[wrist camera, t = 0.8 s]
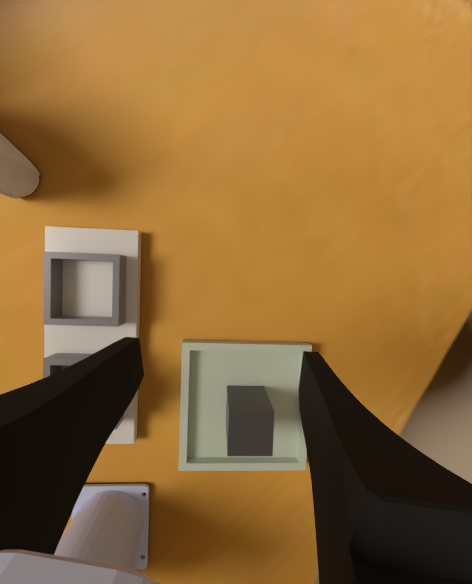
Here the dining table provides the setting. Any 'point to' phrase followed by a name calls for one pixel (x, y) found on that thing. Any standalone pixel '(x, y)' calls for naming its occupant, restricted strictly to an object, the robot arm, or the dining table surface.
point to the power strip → (91, 301)
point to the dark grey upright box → (249, 421)
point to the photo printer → (16, 171)
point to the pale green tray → (212, 402)
